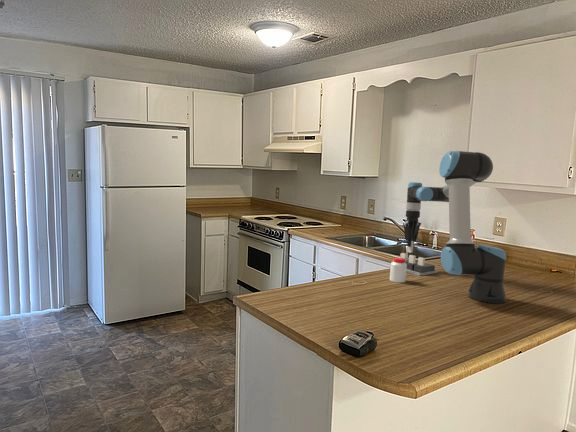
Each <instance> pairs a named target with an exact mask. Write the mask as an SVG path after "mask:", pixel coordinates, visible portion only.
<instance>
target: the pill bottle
mask: <svg viewBox="0 0 576 432" xmlns="http://www.w3.org/2000/svg"><path fill="white" fill-rule="evenodd" d="M389 270H390V271H389V281H391V282H394V283H398V284H399V283H400V284H401V283H406V280H407V272H406V271H407V264H406V263H405V259H404V258H400V257H393V260H392V261H391V262H390V269H389Z"/></svg>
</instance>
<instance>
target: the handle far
mask: <svg viewBox="0 0 576 432" xmlns="http://www.w3.org/2000/svg"><path fill="white" fill-rule="evenodd" d="M417 261H418V265H420V266H424V265H425V264H426V258H425V257H421V256H419V257H418V258H417Z"/></svg>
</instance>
